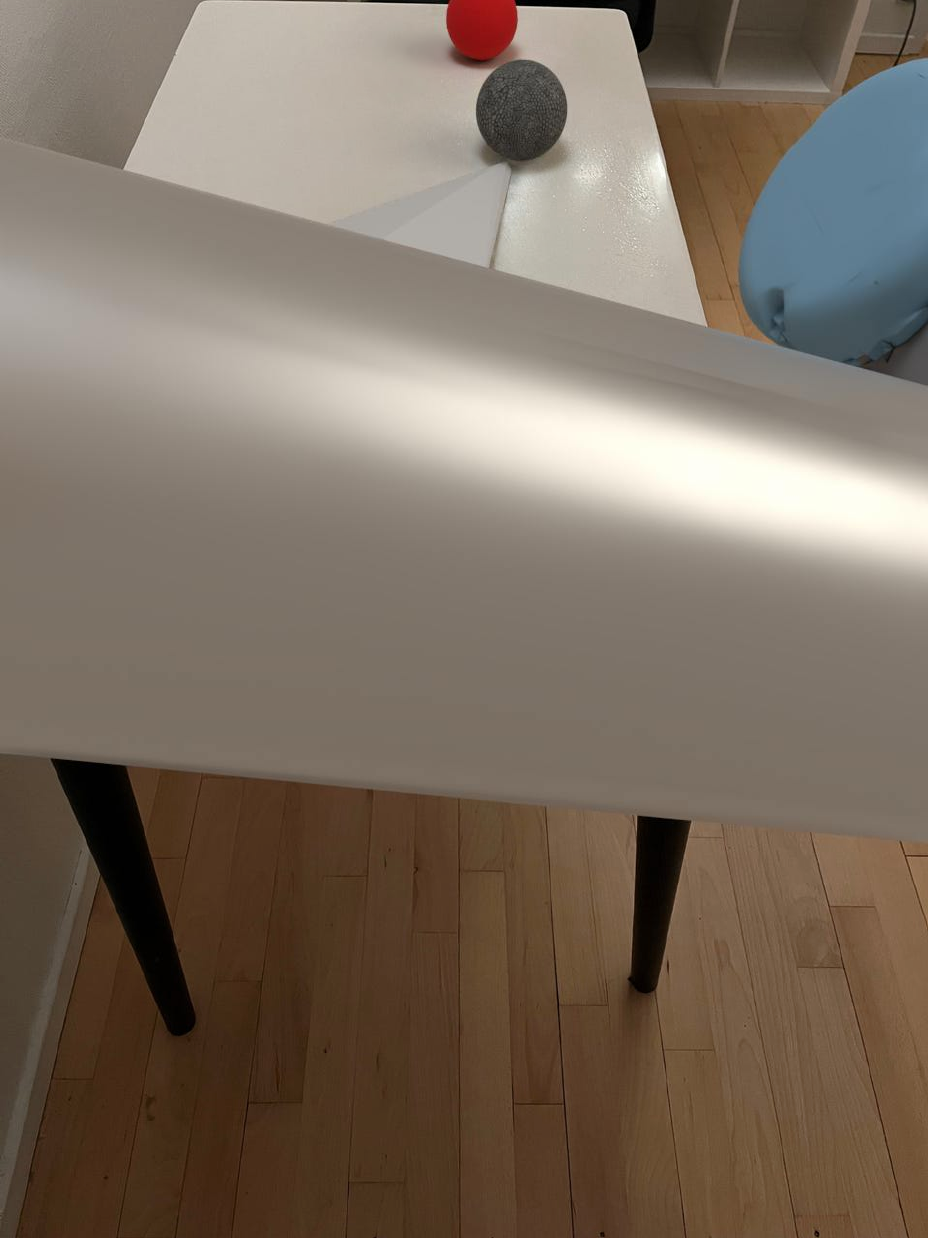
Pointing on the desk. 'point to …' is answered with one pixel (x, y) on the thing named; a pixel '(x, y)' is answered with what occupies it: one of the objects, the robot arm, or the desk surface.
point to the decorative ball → (521, 110)
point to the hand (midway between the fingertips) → (552, 578)
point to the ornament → (481, 26)
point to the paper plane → (443, 217)
